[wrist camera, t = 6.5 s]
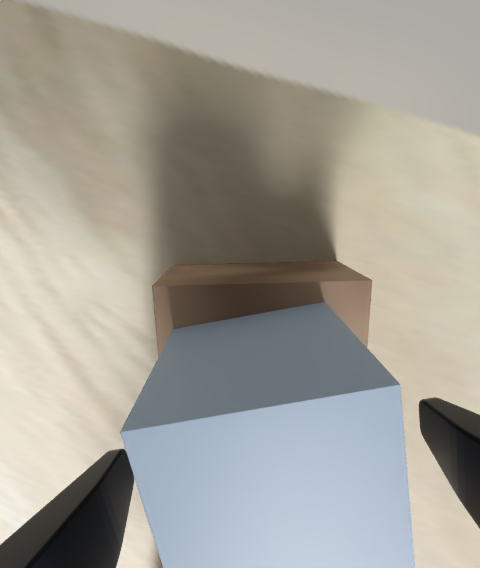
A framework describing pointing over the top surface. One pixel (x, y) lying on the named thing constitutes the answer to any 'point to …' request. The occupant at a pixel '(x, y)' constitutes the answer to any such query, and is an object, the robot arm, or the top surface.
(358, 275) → the base brick
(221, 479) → the blue brick
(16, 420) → the top surface
